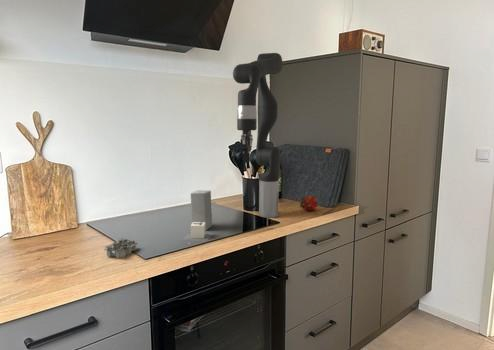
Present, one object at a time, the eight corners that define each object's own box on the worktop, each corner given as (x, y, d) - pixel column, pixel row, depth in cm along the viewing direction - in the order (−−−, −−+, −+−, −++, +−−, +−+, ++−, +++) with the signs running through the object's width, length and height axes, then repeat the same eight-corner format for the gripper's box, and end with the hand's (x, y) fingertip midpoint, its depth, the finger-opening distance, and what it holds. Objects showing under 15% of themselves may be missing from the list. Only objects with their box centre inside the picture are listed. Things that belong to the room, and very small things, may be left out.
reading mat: (190, 232, 149) (190, 231, 149) (214, 233, 147) (214, 233, 147) (181, 240, 139) (181, 239, 139) (206, 241, 138) (206, 241, 137)
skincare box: (206, 231, 150) (206, 193, 148) (190, 229, 152) (189, 192, 149) (213, 225, 158) (212, 189, 156) (197, 224, 160) (197, 189, 157)
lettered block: (193, 234, 146) (192, 221, 145) (205, 234, 146) (205, 221, 145) (190, 238, 141) (190, 225, 140) (203, 238, 141) (203, 225, 140)
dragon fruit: (299, 215, 182) (313, 214, 190) (311, 207, 177) (326, 207, 185) (293, 199, 185) (308, 200, 194) (305, 192, 180) (319, 192, 188)
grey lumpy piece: (120, 260, 120) (120, 248, 119) (102, 257, 122) (101, 245, 121) (140, 249, 129) (140, 238, 129) (123, 246, 132) (122, 235, 131)
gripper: (253, 117, 133) (253, 164, 135) (259, 118, 146) (258, 161, 148) (233, 117, 134) (233, 164, 137) (240, 117, 147) (240, 160, 150)
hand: (246, 162), depth 142 cm, fingers closed
